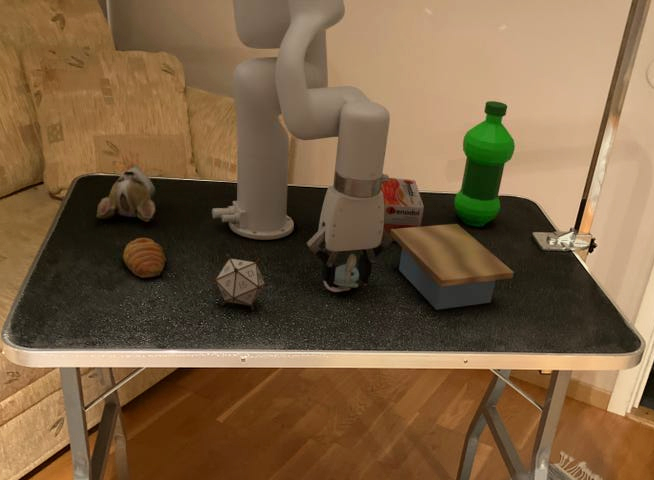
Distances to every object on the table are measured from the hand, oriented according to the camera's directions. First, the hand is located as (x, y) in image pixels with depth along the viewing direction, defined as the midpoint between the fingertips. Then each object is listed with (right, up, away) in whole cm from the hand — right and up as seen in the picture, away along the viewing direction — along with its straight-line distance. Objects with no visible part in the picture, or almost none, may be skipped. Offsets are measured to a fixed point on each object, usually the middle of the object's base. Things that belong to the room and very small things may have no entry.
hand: (345, 280), depth 129 cm
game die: (-17, -5, -7) cm, 19 cm away
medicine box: (+9, +14, +25) cm, 30 cm away
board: (+18, +5, +3) cm, 19 cm away
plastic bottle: (+26, +16, +33) cm, 45 cm away
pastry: (-34, +2, 0) cm, 34 cm away
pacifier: (-1, -1, 0) cm, 1 cm away
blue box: (+17, 0, +6) cm, 18 cm away
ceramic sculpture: (-42, +14, +16) cm, 48 cm away
